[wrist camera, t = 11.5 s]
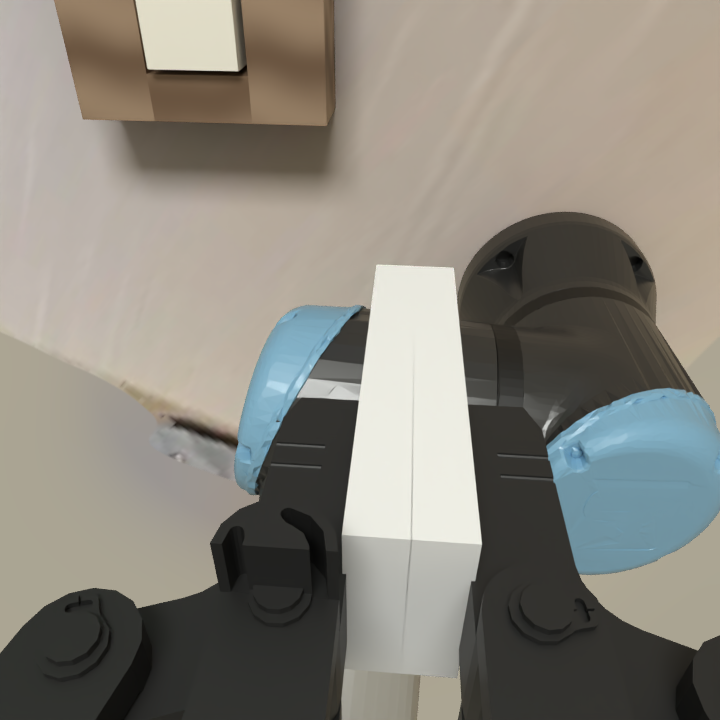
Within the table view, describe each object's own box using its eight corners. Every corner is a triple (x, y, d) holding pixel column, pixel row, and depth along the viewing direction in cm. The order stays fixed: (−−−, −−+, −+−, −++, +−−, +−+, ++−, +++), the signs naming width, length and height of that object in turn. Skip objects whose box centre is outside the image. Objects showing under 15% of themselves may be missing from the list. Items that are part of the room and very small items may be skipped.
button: (254, 58, 41) (238, 71, 37) (171, 57, 41) (147, 69, 37) (246, -43, 37) (227, -40, 34) (156, -44, 38) (128, -41, 34)
